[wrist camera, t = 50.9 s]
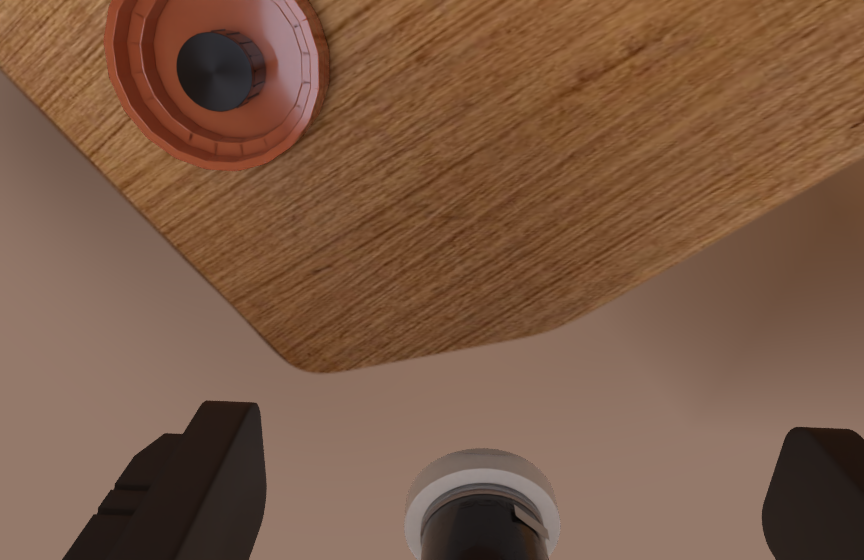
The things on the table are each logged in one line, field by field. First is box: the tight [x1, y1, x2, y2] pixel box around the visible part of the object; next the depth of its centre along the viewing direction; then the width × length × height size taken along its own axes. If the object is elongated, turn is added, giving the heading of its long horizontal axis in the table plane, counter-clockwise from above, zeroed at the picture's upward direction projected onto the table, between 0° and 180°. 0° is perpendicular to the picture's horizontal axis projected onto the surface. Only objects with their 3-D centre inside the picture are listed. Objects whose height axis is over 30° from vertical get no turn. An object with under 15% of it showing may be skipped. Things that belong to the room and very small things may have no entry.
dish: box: [104, 0, 329, 171], centre depth 33 cm, size 11×11×4 cm
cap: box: [176, 29, 266, 112], centre depth 33 cm, size 4×4×3 cm
